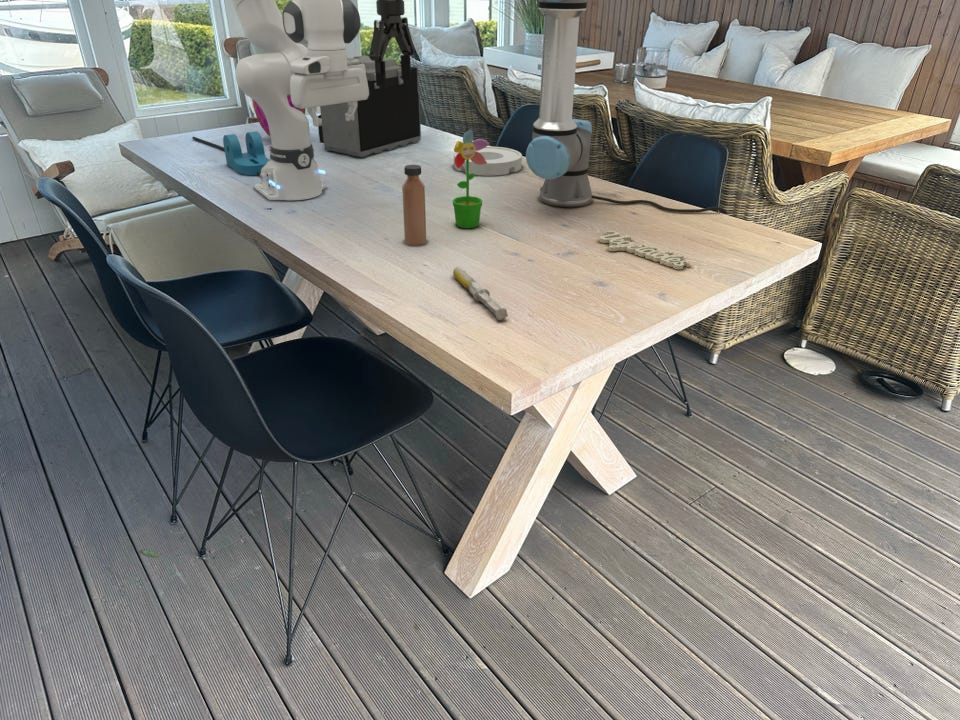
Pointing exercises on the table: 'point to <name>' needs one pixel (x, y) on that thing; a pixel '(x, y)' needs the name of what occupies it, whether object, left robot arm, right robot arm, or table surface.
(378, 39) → the right robot arm
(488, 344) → the table surface
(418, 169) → the cap
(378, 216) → the table surface
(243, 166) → the camera mount
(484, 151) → the ashtray
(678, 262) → the decorative sign
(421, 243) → the bottle
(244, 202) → the table surface
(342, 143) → the grey and black block
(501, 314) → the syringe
